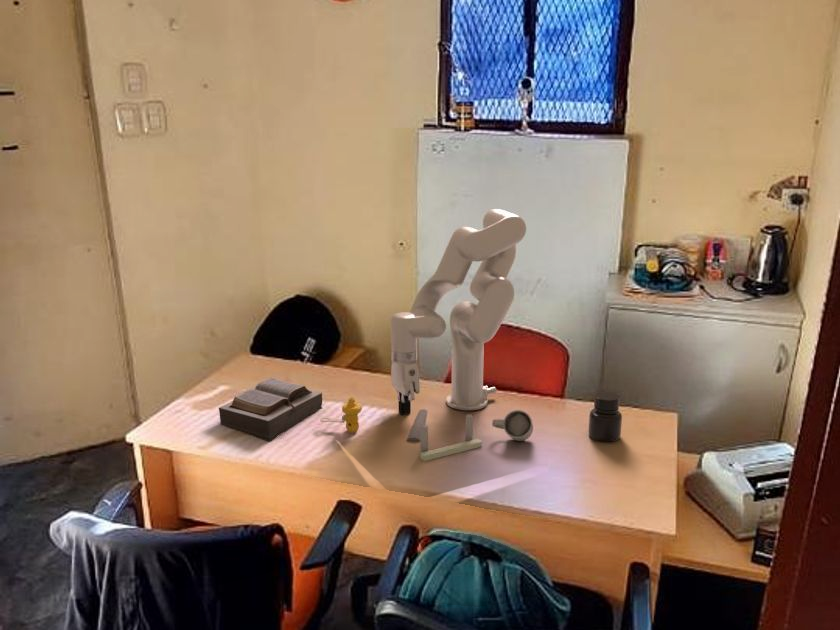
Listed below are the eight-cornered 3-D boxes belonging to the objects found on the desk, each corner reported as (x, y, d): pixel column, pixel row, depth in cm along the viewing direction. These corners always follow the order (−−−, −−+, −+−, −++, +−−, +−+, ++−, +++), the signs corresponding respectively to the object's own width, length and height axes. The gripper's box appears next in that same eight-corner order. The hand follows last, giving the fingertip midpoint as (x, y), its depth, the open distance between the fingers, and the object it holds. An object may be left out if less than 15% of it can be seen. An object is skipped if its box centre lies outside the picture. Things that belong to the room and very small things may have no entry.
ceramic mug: (525, 446, 217) (539, 422, 218) (522, 443, 209) (537, 418, 210) (492, 427, 220) (506, 403, 221) (488, 423, 213) (502, 398, 214)
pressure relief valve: (358, 436, 220) (357, 403, 217) (317, 432, 222) (316, 399, 219) (363, 428, 225) (363, 395, 222) (323, 424, 227) (322, 392, 224)
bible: (333, 417, 233) (332, 386, 230) (259, 446, 214) (257, 413, 211) (284, 396, 248) (283, 367, 245) (211, 423, 229) (208, 391, 226)
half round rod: (405, 442, 217) (405, 436, 217) (416, 414, 236) (416, 408, 235) (420, 443, 216) (420, 437, 216) (430, 415, 235) (430, 409, 234)
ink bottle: (623, 431, 223) (626, 391, 219) (621, 444, 215) (624, 403, 211) (588, 426, 226) (590, 387, 222) (584, 439, 218) (587, 399, 214)
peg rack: (473, 440, 217) (473, 413, 215) (481, 446, 213) (482, 419, 211) (415, 454, 209) (415, 426, 207) (423, 461, 205) (424, 433, 203)
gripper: (428, 360, 223) (427, 419, 228) (403, 345, 236) (404, 402, 241) (404, 364, 220) (404, 425, 225) (381, 349, 232) (382, 406, 238)
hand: (404, 413), depth 233 cm, fingers closed
